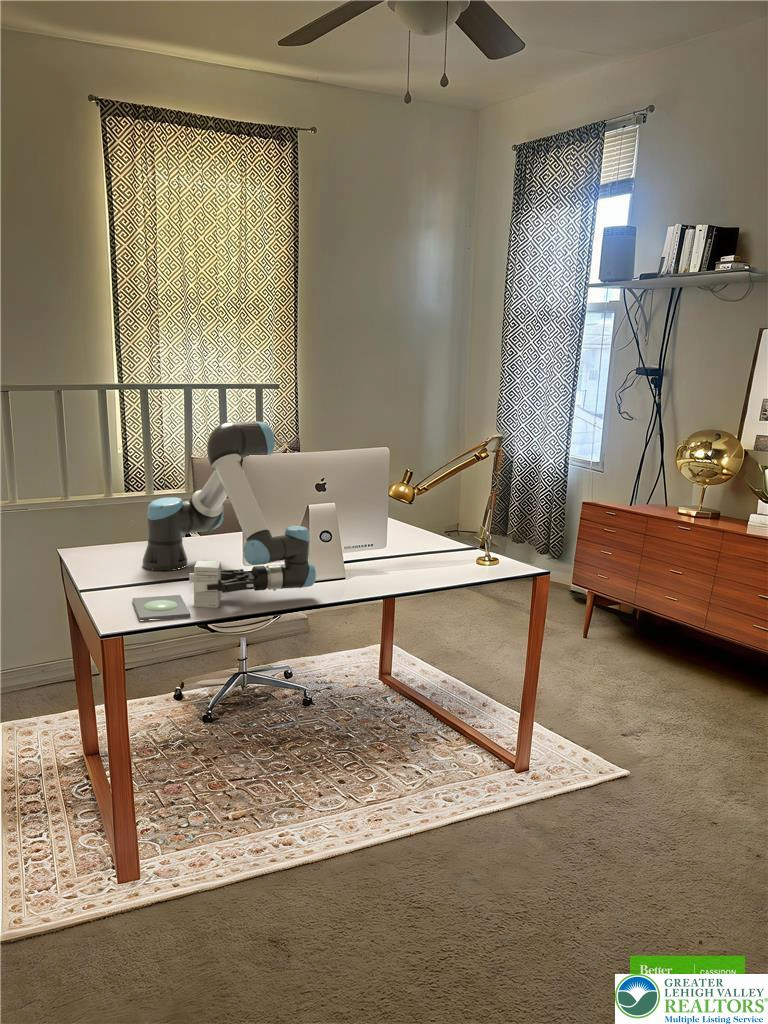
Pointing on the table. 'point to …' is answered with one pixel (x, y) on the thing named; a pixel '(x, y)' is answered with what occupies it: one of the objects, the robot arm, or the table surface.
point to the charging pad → (161, 607)
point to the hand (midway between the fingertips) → (192, 582)
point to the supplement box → (207, 573)
